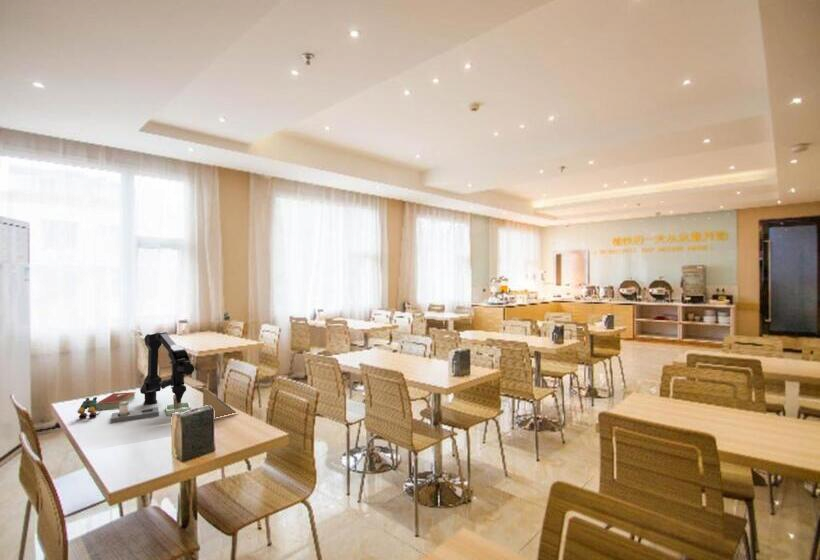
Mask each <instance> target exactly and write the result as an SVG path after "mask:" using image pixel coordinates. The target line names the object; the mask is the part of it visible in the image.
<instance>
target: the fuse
mask: <svg viewBox="0 0 820 560" xmlns="http://www.w3.org/2000/svg"><path fill="white" fill-rule="evenodd" d="M128 411H129V402H128V401H123V402H120V403H119V411H118V412H119V416H124V415H128Z"/></svg>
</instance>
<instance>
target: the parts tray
mask: <svg viewBox="0 0 820 560" xmlns="http://www.w3.org/2000/svg"><path fill="white" fill-rule="evenodd" d="M181 404H182V409H177V410H174V403H172V404H166V405H164V406H165V407H164V409H165V413H166V416H171V414H172V413H175V412H184V411H187V410H190V409H191V410H192V407H191V404H190V402H189V401H187V402H186V401H185V402H181ZM172 415H173V414H172Z"/></svg>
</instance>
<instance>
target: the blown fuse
mask: <svg viewBox="0 0 820 560" xmlns="http://www.w3.org/2000/svg"><path fill="white" fill-rule="evenodd" d="M172 396H173V397H172V398H173V404H174V410H177V409H182V404H181V403H182V400H181V401H180V403H177V400H176V395H175V394H173V395H172Z"/></svg>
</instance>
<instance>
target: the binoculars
mask: <svg viewBox="0 0 820 560" xmlns="http://www.w3.org/2000/svg"><path fill="white" fill-rule="evenodd" d="M97 399H98V397H97V396H94V397H93V399H91V400H90V398H89V397H86V398H85V400H83V402H82V403H81V404H80V407H79V408H78V410H77V411H76V413H77V414H79V416H78V418H79V419H87V417H89V418H96V417H97V416H98V415H100V414H101V412H102V410H101V409H100V408H98V407H97V408H96V403H98V400H97ZM95 408H96V409H99V412H98V413H97V412H96V410H95ZM86 410H87V411H86ZM85 411H86V412H87V413H89V414H87V413H86V412H85Z"/></svg>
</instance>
